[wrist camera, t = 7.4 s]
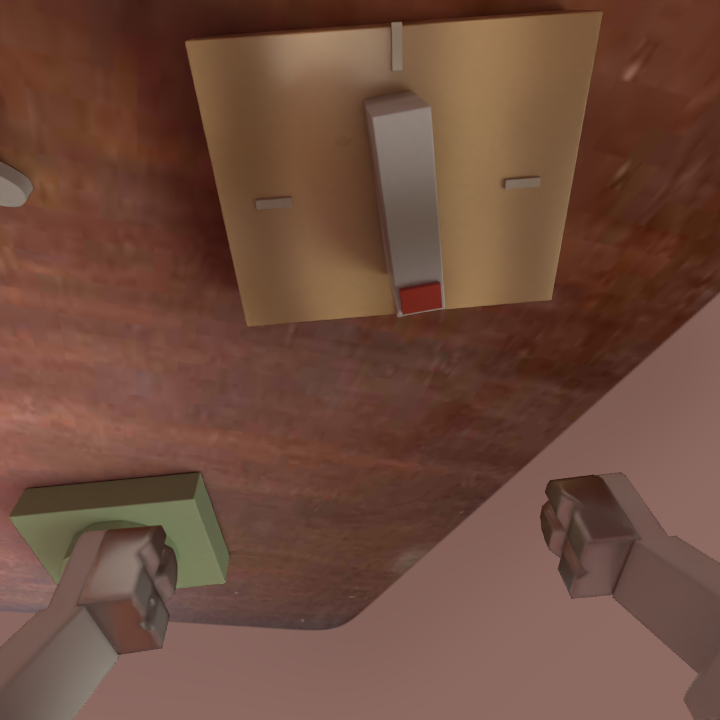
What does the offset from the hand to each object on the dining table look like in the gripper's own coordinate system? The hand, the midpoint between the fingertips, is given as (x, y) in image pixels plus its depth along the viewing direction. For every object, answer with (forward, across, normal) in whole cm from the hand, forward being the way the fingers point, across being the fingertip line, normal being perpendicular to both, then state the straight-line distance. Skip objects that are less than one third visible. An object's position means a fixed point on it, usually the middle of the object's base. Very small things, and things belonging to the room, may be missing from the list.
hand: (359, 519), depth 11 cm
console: (+16, -3, -3) cm, 17 cm away
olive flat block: (+16, +15, +19) cm, 29 cm away
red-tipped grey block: (+13, -3, -3) cm, 14 cm away
